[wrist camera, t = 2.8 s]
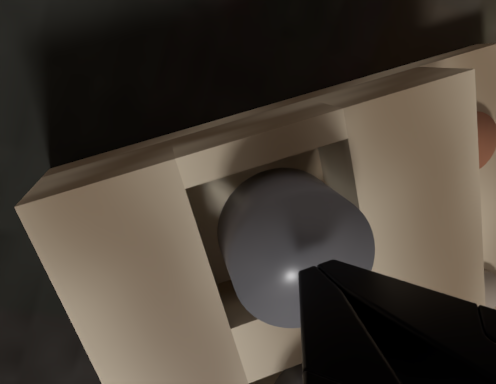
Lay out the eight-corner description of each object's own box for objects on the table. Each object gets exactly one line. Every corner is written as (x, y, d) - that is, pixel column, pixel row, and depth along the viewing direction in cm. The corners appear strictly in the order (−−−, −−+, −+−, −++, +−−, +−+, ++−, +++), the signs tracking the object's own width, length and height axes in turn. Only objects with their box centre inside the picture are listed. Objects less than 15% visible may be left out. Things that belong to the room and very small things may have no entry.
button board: (215, 540, 19) (228, 638, 16) (50, 168, 13) (13, 207, 9) (493, 423, 21) (554, 489, 18) (477, 43, 14) (570, 40, 11)
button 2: (235, 299, 12) (252, 347, 10) (202, 190, 11) (213, 220, 9) (346, 260, 13) (383, 299, 11) (325, 151, 11) (364, 171, 9)
